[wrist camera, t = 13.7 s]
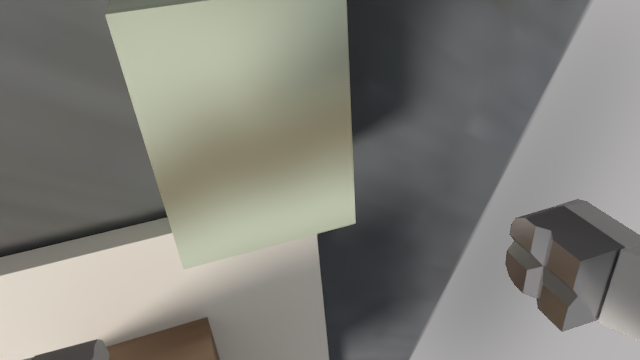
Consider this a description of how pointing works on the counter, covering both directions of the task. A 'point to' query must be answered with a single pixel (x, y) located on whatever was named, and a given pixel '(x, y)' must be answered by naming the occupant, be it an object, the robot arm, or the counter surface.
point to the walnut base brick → (170, 344)
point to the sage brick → (241, 117)
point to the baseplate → (162, 295)
